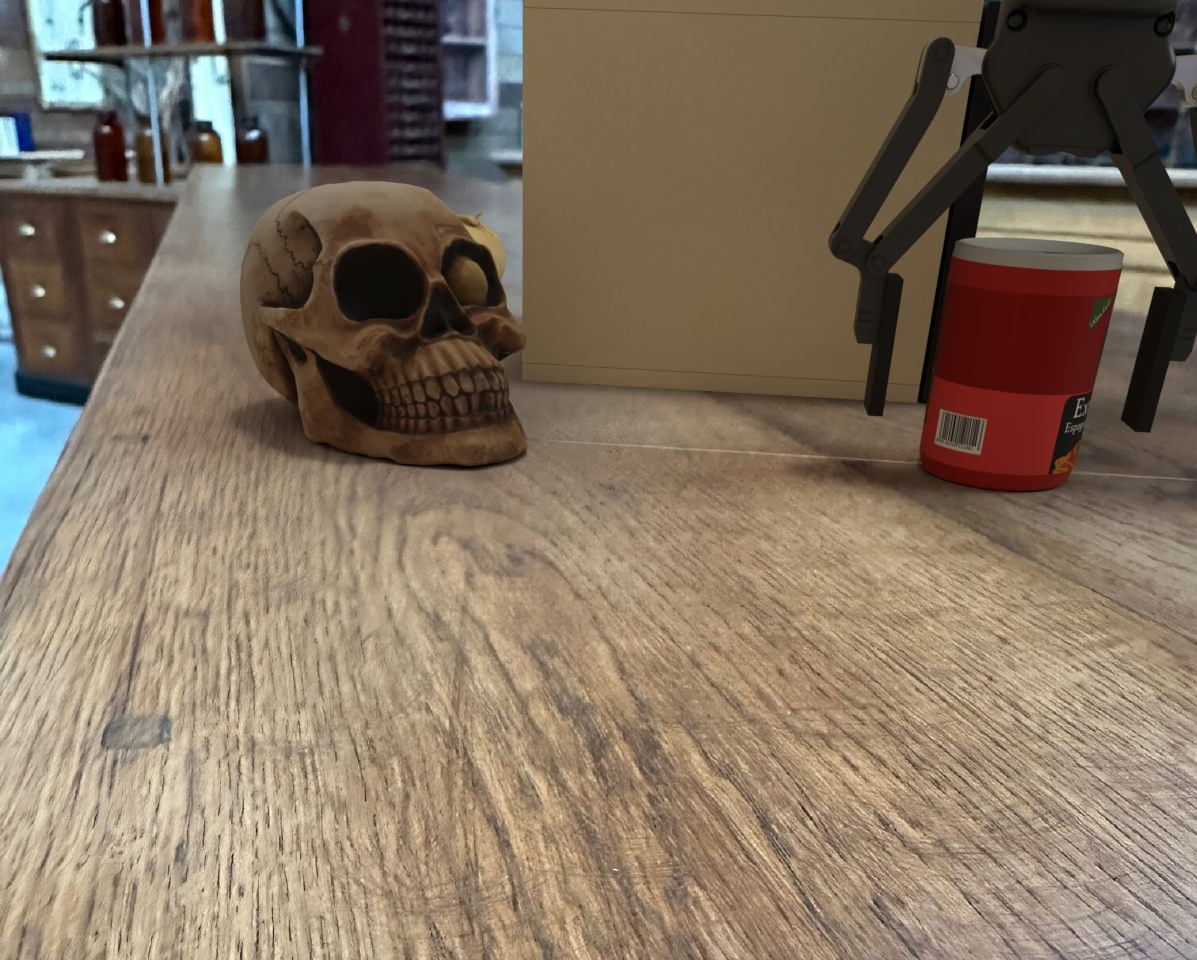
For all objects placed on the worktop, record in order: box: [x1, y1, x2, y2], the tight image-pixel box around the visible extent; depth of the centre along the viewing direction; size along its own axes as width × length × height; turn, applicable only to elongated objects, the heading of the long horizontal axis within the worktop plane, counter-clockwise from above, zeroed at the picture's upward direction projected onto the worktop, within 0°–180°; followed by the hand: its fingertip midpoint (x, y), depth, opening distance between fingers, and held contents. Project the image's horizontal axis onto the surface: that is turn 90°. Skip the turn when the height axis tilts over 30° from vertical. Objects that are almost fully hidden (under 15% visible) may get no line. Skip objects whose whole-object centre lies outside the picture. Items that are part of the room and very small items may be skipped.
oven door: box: [918, 0, 1001, 403], centre depth 83 cm, size 7×28×22 cm, turn 174°
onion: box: [455, 211, 506, 281], centre depth 111 cm, size 8×8×7 cm
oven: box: [521, 0, 985, 404], centre depth 84 cm, size 26×28×22 cm
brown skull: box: [239, 180, 528, 467], centre depth 64 cm, size 16×17×13 cm
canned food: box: [918, 236, 1125, 492], centre depth 60 cm, size 8×8×11 cm
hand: (1002, 419), depth 61 cm, fingers open, 13 cm apart
